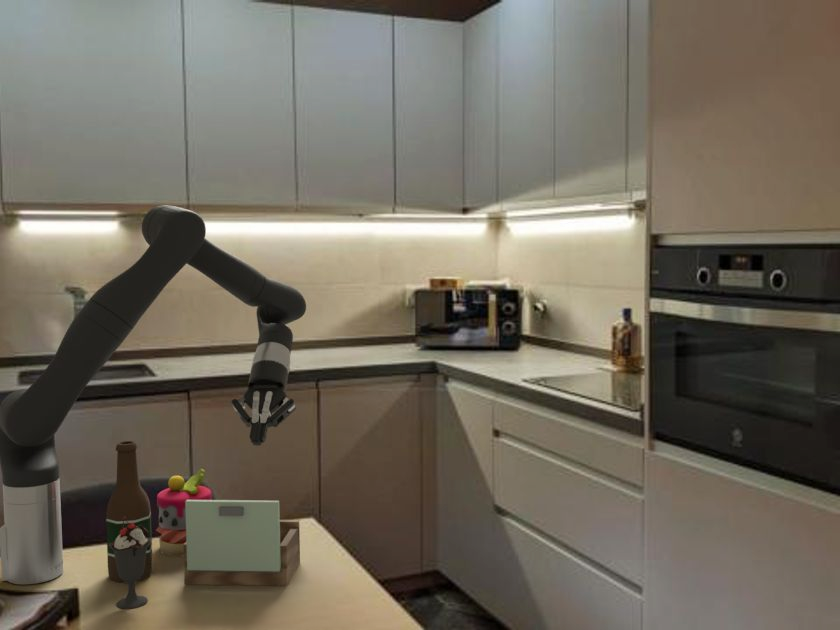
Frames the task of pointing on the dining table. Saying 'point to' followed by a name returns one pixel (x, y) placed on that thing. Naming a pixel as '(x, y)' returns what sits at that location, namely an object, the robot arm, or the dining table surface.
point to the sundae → (131, 561)
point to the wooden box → (288, 567)
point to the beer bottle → (127, 506)
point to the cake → (177, 511)
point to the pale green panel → (233, 536)
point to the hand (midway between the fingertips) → (256, 443)
